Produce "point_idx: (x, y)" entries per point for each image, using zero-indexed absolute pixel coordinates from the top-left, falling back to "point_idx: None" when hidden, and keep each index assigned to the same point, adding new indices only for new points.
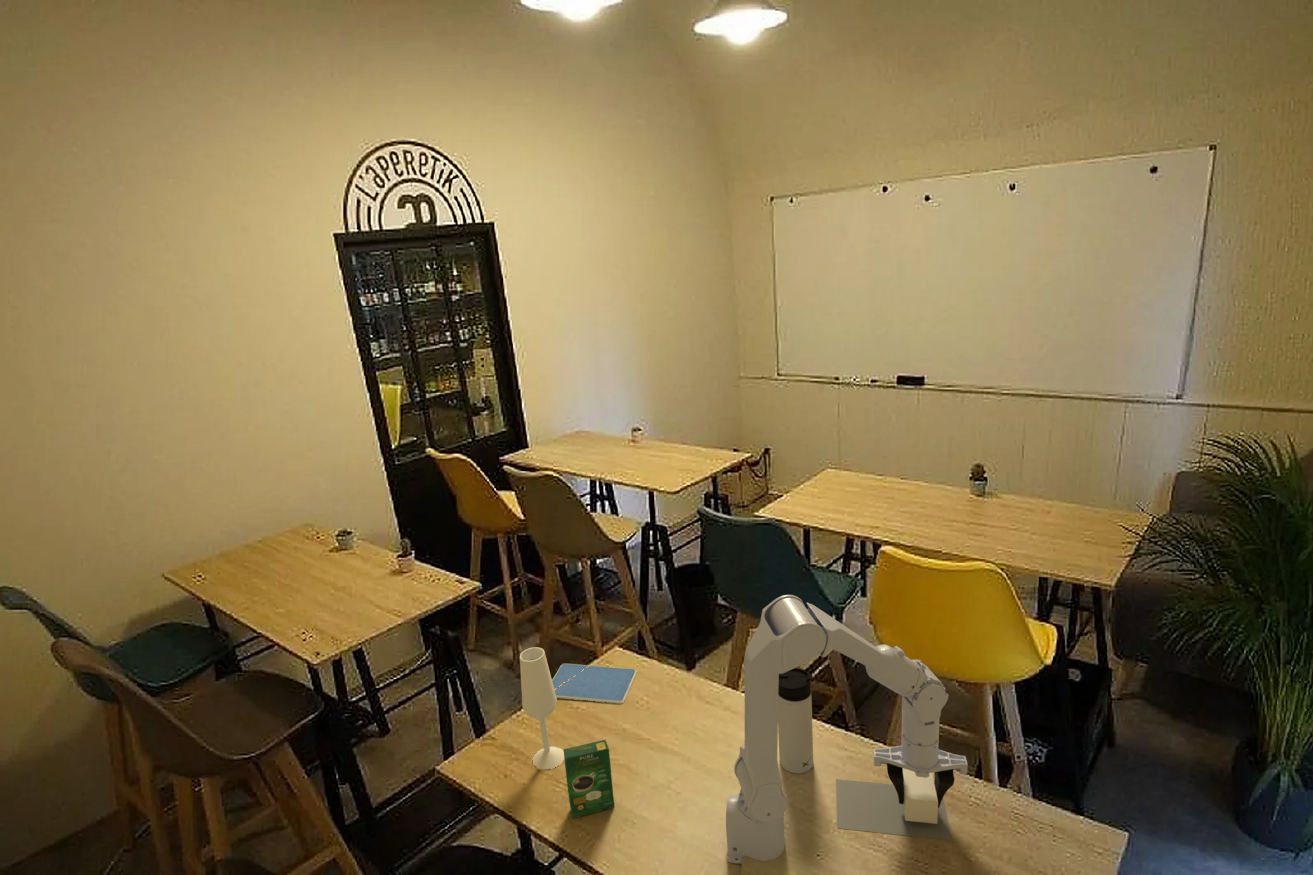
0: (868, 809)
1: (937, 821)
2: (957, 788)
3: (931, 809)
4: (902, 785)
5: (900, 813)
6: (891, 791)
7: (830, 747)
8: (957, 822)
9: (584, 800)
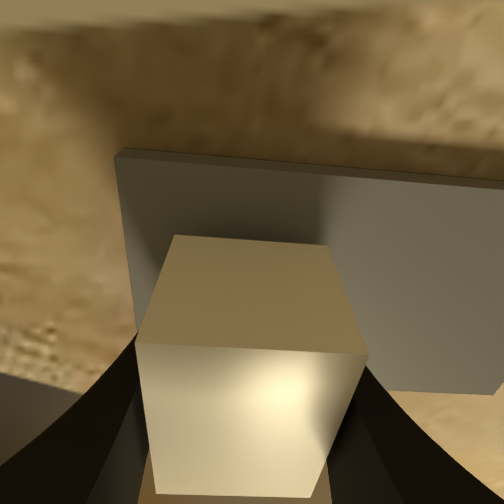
0: (444, 296)
1: None
2: (95, 378)
3: (192, 292)
4: (380, 447)
5: None
6: None
7: None
8: (97, 263)
9: None
